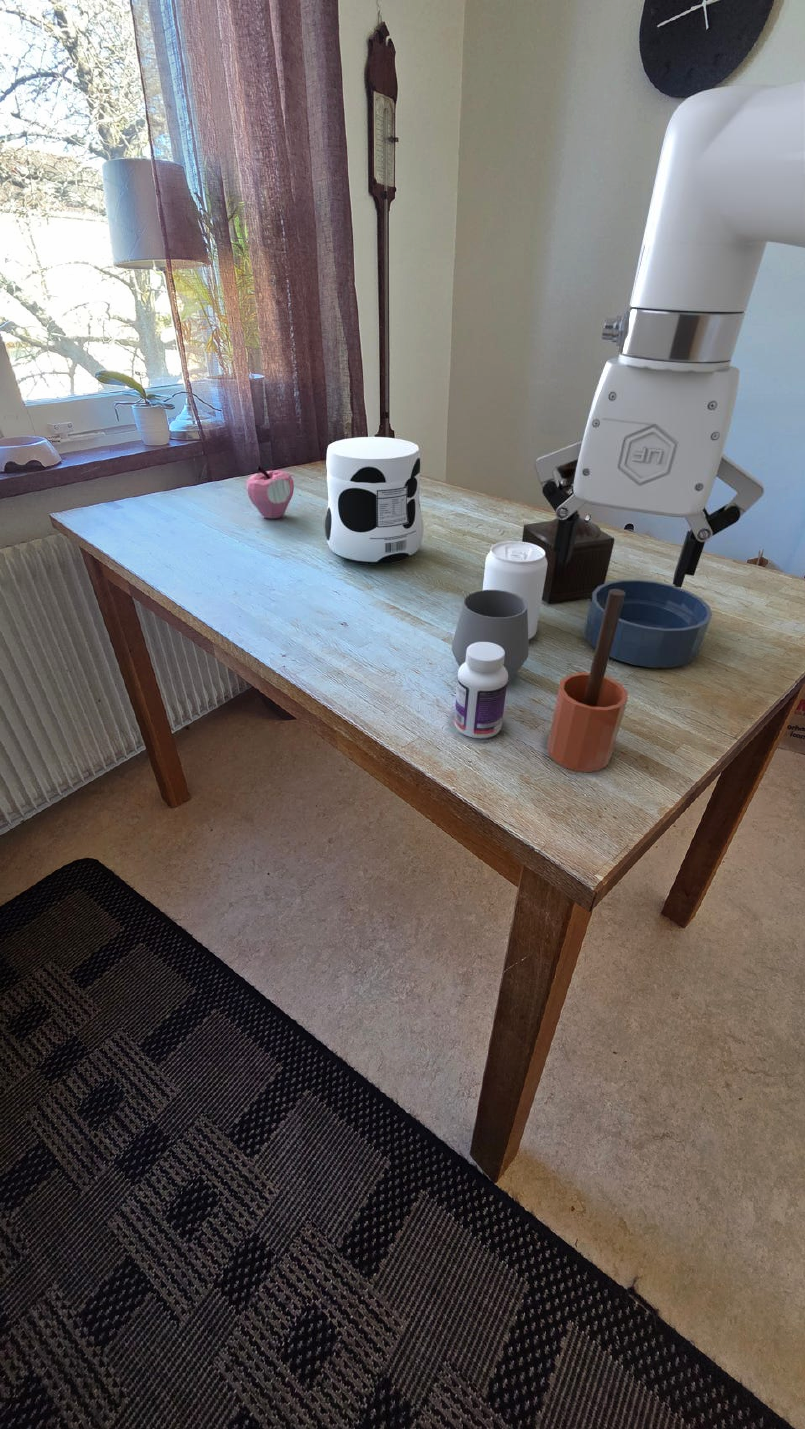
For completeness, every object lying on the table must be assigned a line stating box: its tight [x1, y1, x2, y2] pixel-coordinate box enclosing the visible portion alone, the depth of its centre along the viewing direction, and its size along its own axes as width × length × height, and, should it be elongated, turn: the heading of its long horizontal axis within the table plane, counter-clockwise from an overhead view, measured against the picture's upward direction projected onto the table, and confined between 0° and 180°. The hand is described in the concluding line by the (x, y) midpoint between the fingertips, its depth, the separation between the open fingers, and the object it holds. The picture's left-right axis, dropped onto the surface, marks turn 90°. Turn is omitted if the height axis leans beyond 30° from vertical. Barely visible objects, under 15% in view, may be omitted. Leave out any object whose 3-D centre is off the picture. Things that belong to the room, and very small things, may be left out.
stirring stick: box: [583, 589, 625, 707], centre depth 59 cm, size 3×1×18 cm, turn 67°
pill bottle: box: [454, 642, 509, 739], centre depth 65 cm, size 5×5×10 cm
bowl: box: [583, 579, 713, 669], centre depth 82 cm, size 15×15×6 cm
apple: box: [245, 464, 295, 519], centre depth 121 cm, size 10×9×10 cm
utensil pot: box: [546, 671, 628, 773], centre depth 62 cm, size 7×7×8 cm
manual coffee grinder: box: [521, 460, 615, 604], centre depth 95 cm, size 16×11×18 cm
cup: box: [451, 589, 530, 682], centre depth 74 cm, size 10×9×10 cm
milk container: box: [324, 436, 425, 566], centre depth 103 cm, size 17×17×18 cm
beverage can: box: [482, 540, 547, 640], centre depth 82 cm, size 8×8×12 cm
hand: (619, 570), depth 53 cm, fingers open, 9 cm apart
